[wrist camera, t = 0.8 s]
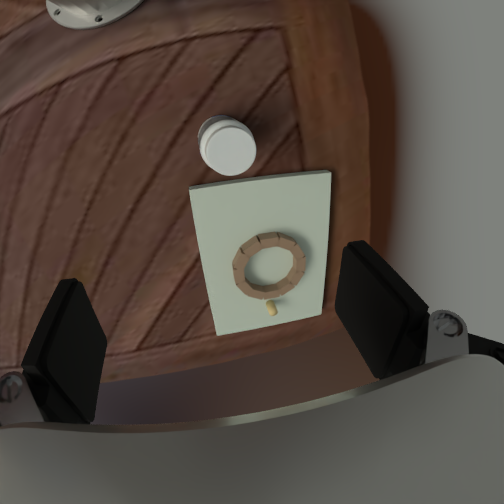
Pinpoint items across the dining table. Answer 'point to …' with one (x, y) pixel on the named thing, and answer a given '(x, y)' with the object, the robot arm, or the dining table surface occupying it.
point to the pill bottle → (226, 145)
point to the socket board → (263, 247)
